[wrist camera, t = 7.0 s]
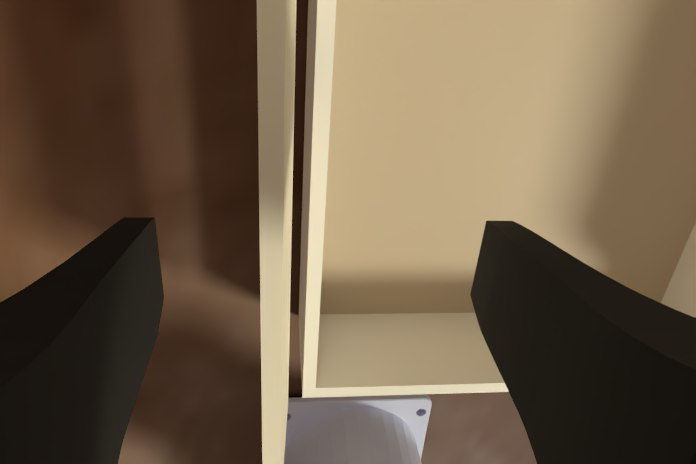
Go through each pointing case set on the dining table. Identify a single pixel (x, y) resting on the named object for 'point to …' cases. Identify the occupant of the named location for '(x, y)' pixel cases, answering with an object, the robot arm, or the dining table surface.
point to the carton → (483, 171)
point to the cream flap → (275, 212)
